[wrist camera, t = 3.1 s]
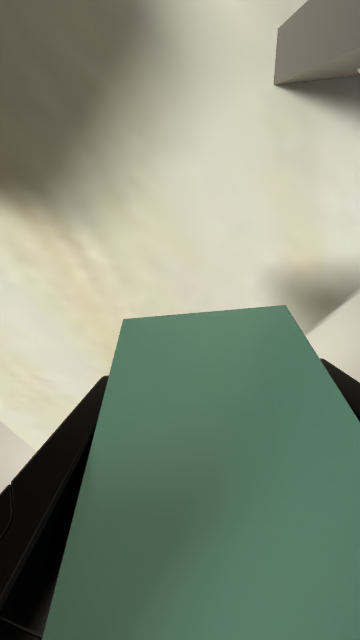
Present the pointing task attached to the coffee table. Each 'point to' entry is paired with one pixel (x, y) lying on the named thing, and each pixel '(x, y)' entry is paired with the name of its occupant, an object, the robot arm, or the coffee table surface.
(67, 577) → the tile
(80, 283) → the coffee table surface
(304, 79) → the tile
